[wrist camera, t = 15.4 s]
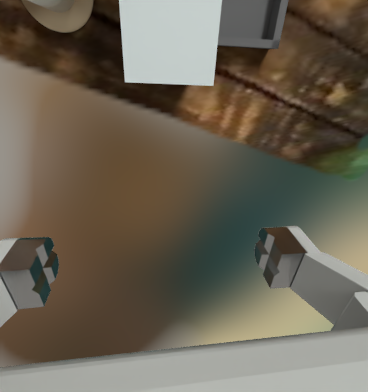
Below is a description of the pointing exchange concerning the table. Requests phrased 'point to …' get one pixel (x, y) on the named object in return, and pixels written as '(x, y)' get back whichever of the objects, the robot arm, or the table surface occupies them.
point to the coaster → (62, 15)
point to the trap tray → (251, 23)
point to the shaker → (55, 4)
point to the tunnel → (170, 40)
